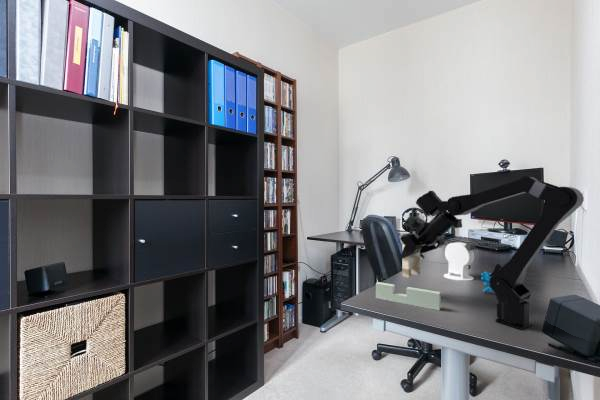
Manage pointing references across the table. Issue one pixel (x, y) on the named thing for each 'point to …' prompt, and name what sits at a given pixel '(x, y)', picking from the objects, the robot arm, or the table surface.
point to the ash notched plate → (410, 264)
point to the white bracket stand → (459, 260)
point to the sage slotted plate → (409, 296)
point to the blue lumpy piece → (486, 281)
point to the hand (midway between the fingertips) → (407, 255)
